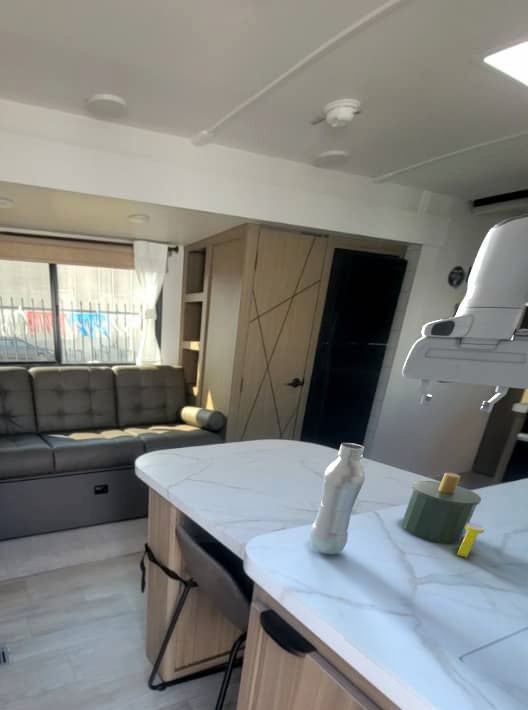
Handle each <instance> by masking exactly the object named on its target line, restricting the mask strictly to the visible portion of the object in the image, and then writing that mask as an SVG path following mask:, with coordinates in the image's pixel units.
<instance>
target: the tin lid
mask: <svg viewBox="0 0 528 710" xmlns="http://www.w3.org/2000/svg"><path fill="white" fill-rule="evenodd" d="M460 479H461V475H459V474H457V473H455V472H444V474H443V477H442V480H441V482H440V481H434V480H433V481H432V480H419V481H416V482H414V483H413V484H412V491H413V490H414V491H415V492H416V493H418V494H420V495H422V496H424V497H426V498H429V499H432V500H435V501H439V502H443V503H447V504H453V505H460V506H474V505H477V506H478V505H480V503H481V501H482V497H481V495H479V494H478V493H476V492H474V491H472V490H470V489H468V488H466V487H465V488H464V487H462V486H459V485H458V484H459V482H460Z"/></svg>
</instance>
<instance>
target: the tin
mask: <svg viewBox="0 0 528 710" xmlns="http://www.w3.org/2000/svg"><path fill="white" fill-rule="evenodd" d="M477 506H478V505H474V506H460V505H453V504H447V503H443V502H439V501H435V500H432V499H429V498H426V497H424V496H422V495H420V494H418V493H416V492H415V491H414V490H413V489H412V492H411V495H410V498H409V502H408V504H407V507H406V509H405V512H404V514H403V515H404V516H403V518H402V522H401V526H402V528H403V529H404V530H405V531H406V532H408V533H410V534H411V535H413V536H414V537H418V538H420V539H423V540H425V541H430V542H434V543H440V544H457V543H459V542H461V540H463V539H464V538H463V537H464V535H465V533H466V531H467V530H466V529H465V525H466V524H467V523H471V520H472V517H473V515H474V512H475V510H476V508H477Z"/></svg>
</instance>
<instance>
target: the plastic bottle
mask: <svg viewBox="0 0 528 710" xmlns="http://www.w3.org/2000/svg"><path fill="white" fill-rule="evenodd" d="M364 450H365V447H364V446H363V445H360V444H357V443H353V442H342V443H341V444H340V447H339V450H338V451H337V456H338V457H337V458H336V459H335V460H334V461H333V462H331V463H330V464H329V465H328V466H327V468H326V470H325V471H324V474H323V485H322V495H321V500H320V504H319V508H318V512H317V515H316V517H315V520H314V523H313V524H312V526H311V528H310V531H309V535H308V536H309V537H308V540H309V541H308V542H309V544H310V546H311V547H312V548H313V549H314V550H315V551H317V552H319V553H322V554H326V555H337V554H339V553H341V552H342V551H343V550H344V549H345V547H346V545H347V543H348V536H349V526H350V525H349V524H350V522H351V521H350V520H351V516H352V511H353V508H354V507H355V503H356V501H357V499H358V496H359V493H360V491H361V490H362V487H363V485H364V482H365V479H366V477H365V472H364V468H363V466H362V464H361V462H360V460H362V459H363V456H364V455H363V454H364Z"/></svg>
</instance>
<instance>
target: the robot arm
mask: <svg viewBox="0 0 528 710" xmlns="http://www.w3.org/2000/svg"><path fill="white" fill-rule="evenodd" d="M525 306H526V307H528V213H524V214H522V215H518V216H513V217H510V218H506V219H503V220H501V221H499V222H498V223H496V224H495V225H493V226H492V227H491V228H490V229H489V231H488V232H487V234H486V235H485V237H484V239H483V241H482V243H481V245H480V246H479V249H478V252H477V254H476V257H475V259H474V261H473V264H472V267H471V270H470V273H469V275H468V279H467V289H466V293H465V295H464V298H463V299H462V301H461V302H460V304H459V306H458V309H457V312H456V314H455V315H454V316H453V317H444V318H442V319H440V320H434V321H431V322H428V323H426V324H425V325H423V326H422V330H421V335H422V337H421V338H419V339H417V340H416V341H415V343H414V344H413V345H412V347H411V349H410V350H409V353H408V355H407V357H406V359H405V362H404V364H403V367H402V370H401V375H402V377H403V378H405V379H412V380H420V382H419V389H420V392H421V395H422V396H421V400H420V403H419V405H421V406H430V403H431V401H432V398H433V395H431V394H427V390H426V387H429V385H430V382H431V381H434V382H444V383H445V382H446V383H457V384H467V385H476V386H477V385H478V386H488V387H489V386H490V387H496V388H495V390H494V392H495V393H496V394H495V395H494V396H493V397H491V398H490V399H489V400H482V402H481V406H480V408H479V413H480V412H481V413H489V414H491V412H492V410H493V407H494V405H495V404H496V403H498V401H500V400H501V399H502V398H504V397H505V396H506V395H507V393H508V391H509V390H510V388H511V389H512V388H513V389H521V390H523V389H524V390H528V328H517V326H518V325H519V322H520V319H521V316H522V314H523V312H524V309H525Z"/></svg>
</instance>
